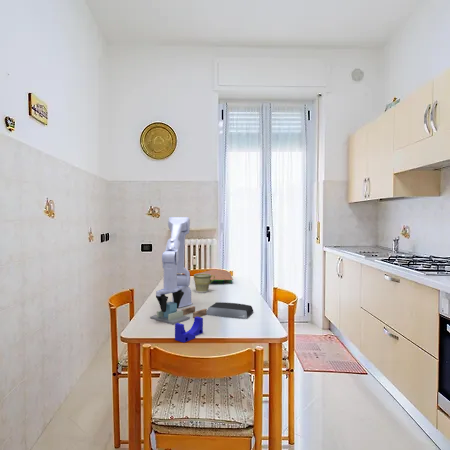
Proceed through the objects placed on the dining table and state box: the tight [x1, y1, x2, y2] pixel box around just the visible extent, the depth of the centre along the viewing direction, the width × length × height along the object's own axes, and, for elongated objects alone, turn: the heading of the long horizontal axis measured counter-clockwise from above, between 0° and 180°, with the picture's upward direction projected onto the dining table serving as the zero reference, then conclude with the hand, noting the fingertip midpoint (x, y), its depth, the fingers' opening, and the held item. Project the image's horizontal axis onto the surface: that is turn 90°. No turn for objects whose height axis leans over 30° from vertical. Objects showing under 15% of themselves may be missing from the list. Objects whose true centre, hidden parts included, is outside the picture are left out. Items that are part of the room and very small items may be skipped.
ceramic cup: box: [193, 272, 215, 294], centre depth 209 cm, size 13×10×10 cm
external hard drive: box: [205, 301, 254, 320], centre depth 164 cm, size 13×19×4 cm
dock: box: [149, 309, 191, 326], centre depth 154 cm, size 10×14×3 cm
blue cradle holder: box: [174, 316, 204, 343], centre depth 132 cm, size 12×4×6 cm, turn 143°
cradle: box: [181, 305, 208, 319], centre depth 161 cm, size 8×8×2 cm
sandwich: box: [198, 268, 234, 285], centre depth 246 cm, size 23×33×8 cm
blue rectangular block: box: [164, 301, 178, 318], centre depth 154 cm, size 4×4×6 cm
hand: (170, 309), depth 154 cm, fingers open, 7 cm apart
